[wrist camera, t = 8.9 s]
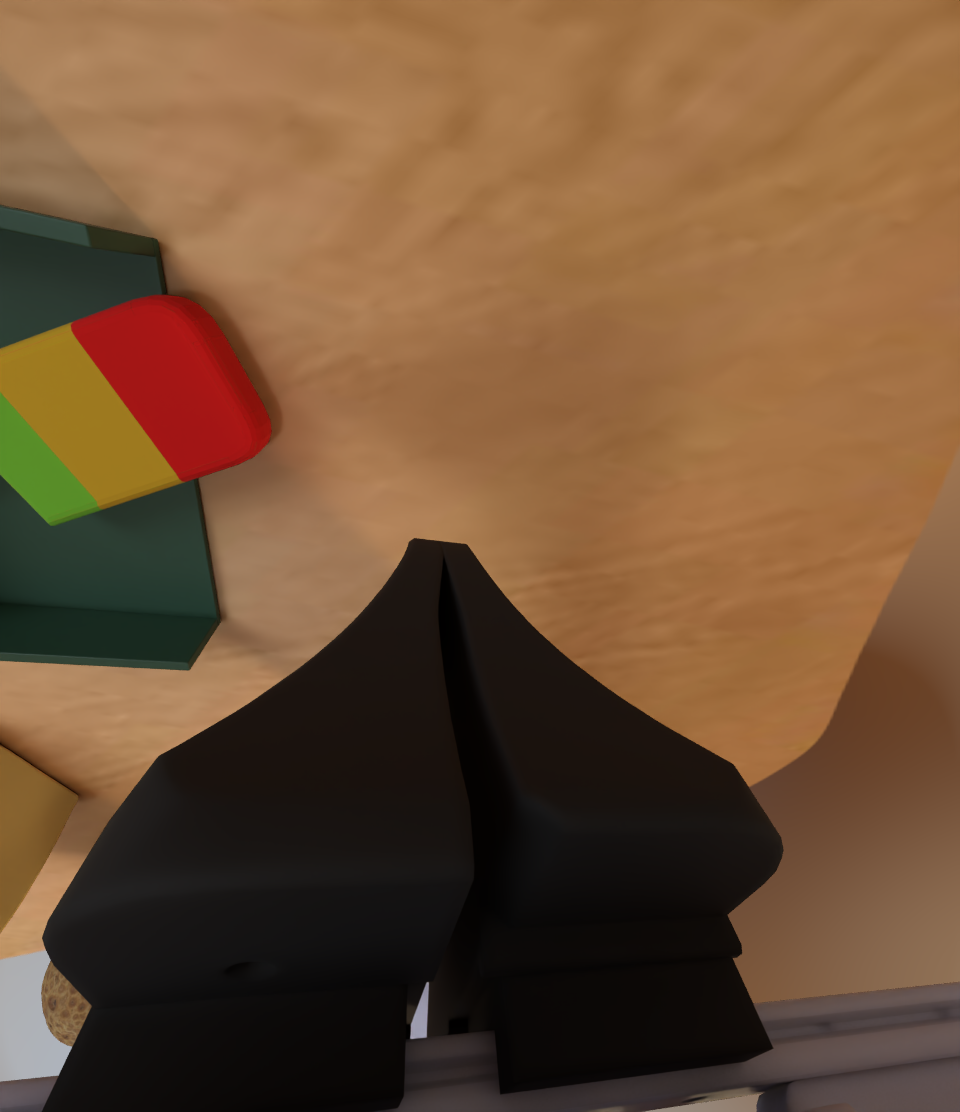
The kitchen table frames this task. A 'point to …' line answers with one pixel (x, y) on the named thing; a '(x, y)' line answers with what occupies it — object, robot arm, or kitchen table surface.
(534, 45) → the kitchen table surface
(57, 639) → the dustpan
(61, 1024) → the natural sponge
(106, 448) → the popsicle
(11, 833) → the cheese
